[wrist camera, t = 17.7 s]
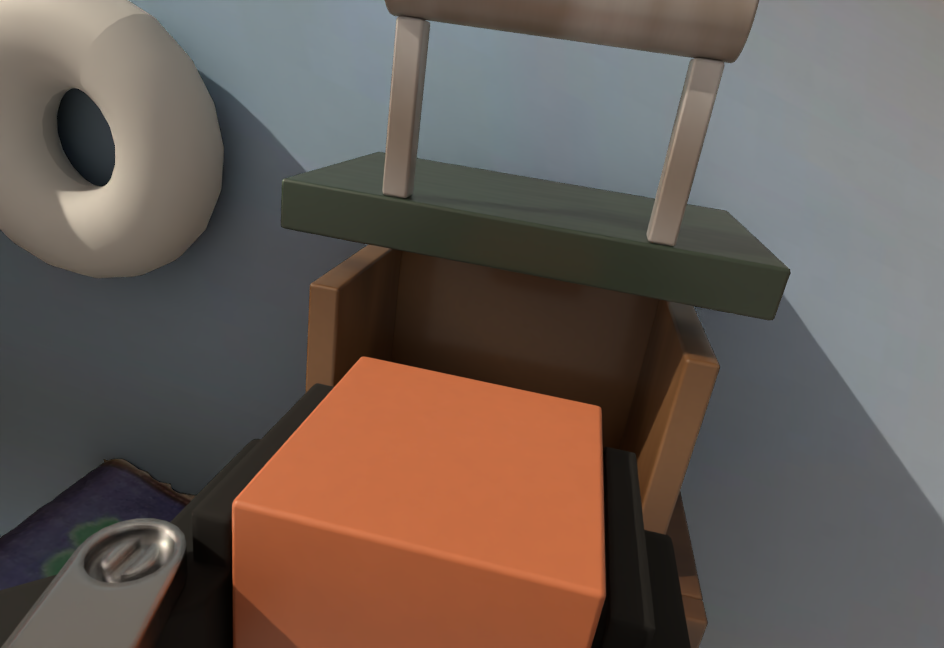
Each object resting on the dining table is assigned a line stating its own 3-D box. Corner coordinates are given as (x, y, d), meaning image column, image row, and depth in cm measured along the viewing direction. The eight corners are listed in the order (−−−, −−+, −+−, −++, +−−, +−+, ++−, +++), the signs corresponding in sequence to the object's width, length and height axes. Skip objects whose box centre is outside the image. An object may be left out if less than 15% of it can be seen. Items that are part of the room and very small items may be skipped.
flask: (281, 537, 28) (113, 774, 19) (263, 578, 30) (96, 822, 20) (105, 445, 29) (-155, 632, 19) (94, 490, 30) (-156, 689, 20)
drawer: (391, -30, 18) (275, -98, 12) (785, 22, 17) (904, -22, 10) (351, 483, 25) (265, 622, 19) (627, 549, 24) (638, 724, 17)
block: (361, 354, 11) (228, 501, 7) (602, 405, 11) (607, 595, 7) (345, 543, 13) (231, 751, 9) (555, 596, 12) (535, 843, 8)
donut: (-4, 204, 25) (213, 305, 25) (-92, 220, 22) (154, 336, 22) (13, -62, 21) (271, 52, 21) (-91, -89, 18) (210, 44, 18)
